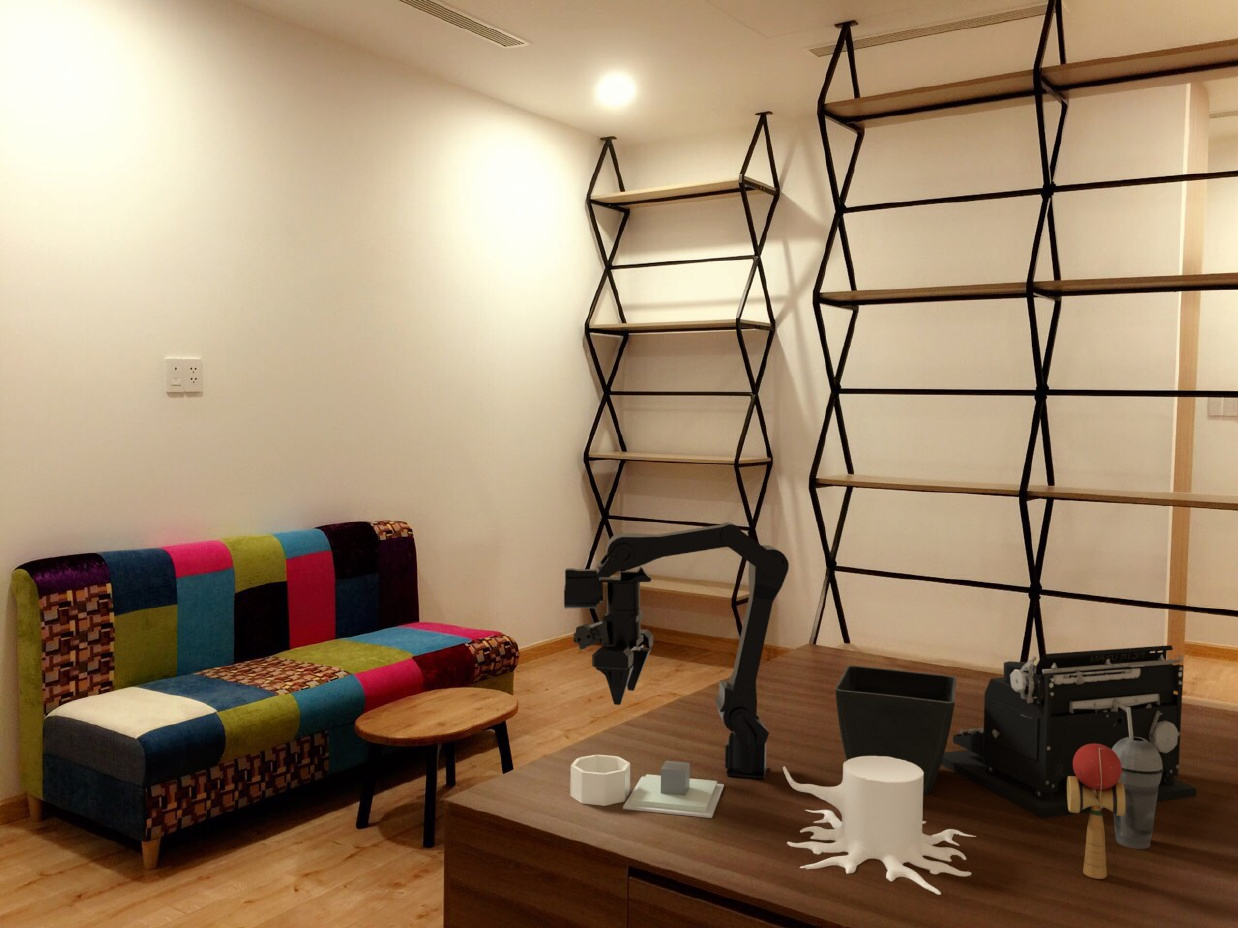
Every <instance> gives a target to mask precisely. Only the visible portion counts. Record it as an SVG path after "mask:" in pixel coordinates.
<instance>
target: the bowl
mask: <svg viewBox="0 0 1238 928" xmlns="http://www.w3.org/2000/svg"><path fill="white" fill-rule="evenodd" d="M569 786H570V789H569V790H570V791H569V793H570V794H569V796H570V797H571V798H573V799H574V800H576V801H577V802H578V803H581V804H584V805H594V806H602V807H605V806H610V805H613V804H619V803H624V802H626V801H627V799H628V798H629V796H630V795H631V762H629V761H628V760H625V759H624V758H622V757H620V756H618V755H617V756H616V755H607V754H605V755H604V754H593V755H592V754H591V755H586V756H581V757H577V758H576V759H575V760H574V761H573V762H572V763H571V764H570V785H569Z"/></svg>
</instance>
